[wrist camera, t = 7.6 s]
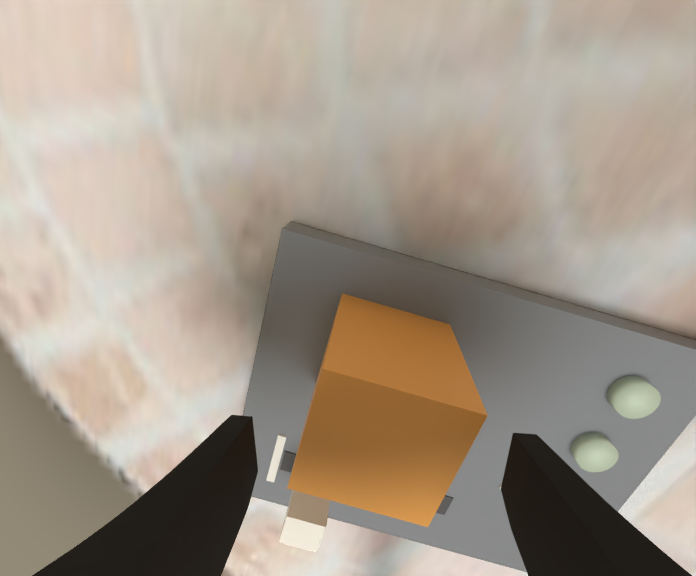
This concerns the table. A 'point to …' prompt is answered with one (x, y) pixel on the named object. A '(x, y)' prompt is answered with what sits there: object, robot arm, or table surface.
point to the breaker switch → (305, 521)
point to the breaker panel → (488, 375)
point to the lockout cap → (388, 414)
